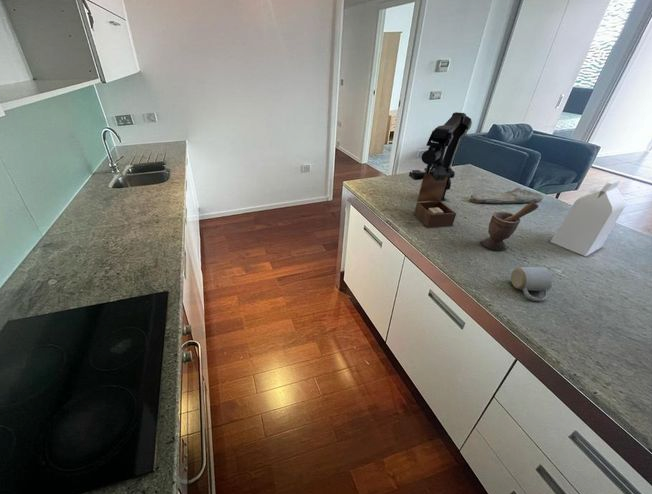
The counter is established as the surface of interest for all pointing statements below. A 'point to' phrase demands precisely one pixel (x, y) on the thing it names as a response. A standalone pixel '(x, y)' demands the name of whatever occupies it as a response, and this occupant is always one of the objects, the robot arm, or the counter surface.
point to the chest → (434, 219)
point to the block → (435, 211)
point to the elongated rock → (507, 197)
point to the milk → (590, 220)
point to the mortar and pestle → (505, 226)
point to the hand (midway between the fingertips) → (427, 191)
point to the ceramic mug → (532, 280)
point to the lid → (431, 188)
